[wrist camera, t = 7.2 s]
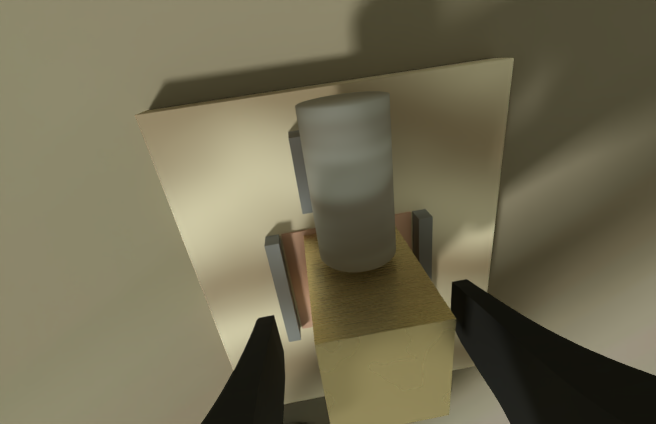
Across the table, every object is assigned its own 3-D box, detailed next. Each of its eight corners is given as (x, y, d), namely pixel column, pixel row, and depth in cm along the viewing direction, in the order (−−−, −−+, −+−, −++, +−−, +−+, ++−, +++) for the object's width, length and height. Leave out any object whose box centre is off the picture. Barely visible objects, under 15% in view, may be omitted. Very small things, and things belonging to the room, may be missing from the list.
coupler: (395, 297, 16) (449, 414, 11) (316, 311, 16) (333, 438, 11) (392, 220, 14) (456, 318, 9) (303, 235, 14) (314, 344, 9)
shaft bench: (468, 349, 21) (520, 431, 16) (251, 392, 20) (241, 491, 15) (495, 57, 13) (606, 58, 9) (147, 110, 12) (68, 140, 8)
